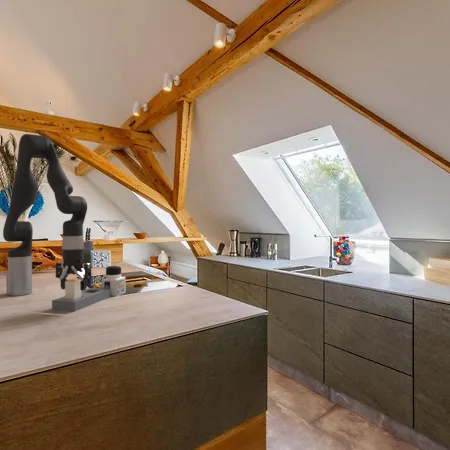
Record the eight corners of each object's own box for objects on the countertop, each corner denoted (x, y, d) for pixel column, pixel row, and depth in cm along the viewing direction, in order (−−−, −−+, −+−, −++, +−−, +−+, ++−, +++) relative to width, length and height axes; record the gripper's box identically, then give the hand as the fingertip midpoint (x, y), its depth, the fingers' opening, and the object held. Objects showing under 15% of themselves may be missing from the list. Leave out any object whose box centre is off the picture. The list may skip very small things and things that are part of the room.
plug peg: (65, 307, 123) (65, 280, 122) (72, 304, 127) (72, 278, 126) (74, 308, 122) (74, 280, 122) (81, 305, 126) (81, 278, 125)
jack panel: (52, 311, 120) (52, 300, 120) (89, 296, 141) (89, 287, 141) (75, 312, 118) (75, 301, 118) (110, 298, 139) (109, 289, 139)
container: (117, 297, 141) (116, 267, 141) (101, 296, 142) (100, 267, 142) (125, 293, 148) (125, 265, 148) (110, 292, 150) (110, 264, 150)
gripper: (50, 248, 122) (50, 290, 122) (82, 249, 118) (83, 292, 119) (64, 246, 129) (64, 286, 129) (95, 247, 126) (95, 288, 126)
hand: (73, 289), depth 124 cm, fingers open, 8 cm apart
